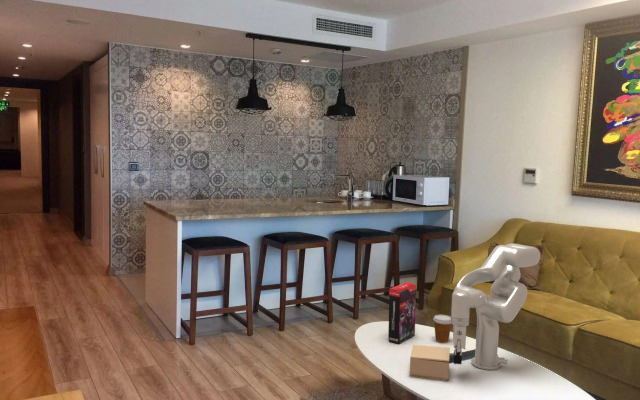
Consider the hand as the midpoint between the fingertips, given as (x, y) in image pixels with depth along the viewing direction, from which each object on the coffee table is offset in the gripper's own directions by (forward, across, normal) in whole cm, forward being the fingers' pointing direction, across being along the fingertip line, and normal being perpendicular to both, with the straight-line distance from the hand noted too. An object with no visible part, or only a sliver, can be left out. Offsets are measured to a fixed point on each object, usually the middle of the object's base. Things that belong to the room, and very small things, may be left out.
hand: (457, 361), depth 235 cm
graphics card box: (+7, +36, +27) cm, 46 cm away
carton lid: (0, 0, +9) cm, 9 cm away
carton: (+6, 0, +12) cm, 13 cm away
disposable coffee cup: (+7, +40, +7) cm, 41 cm away
